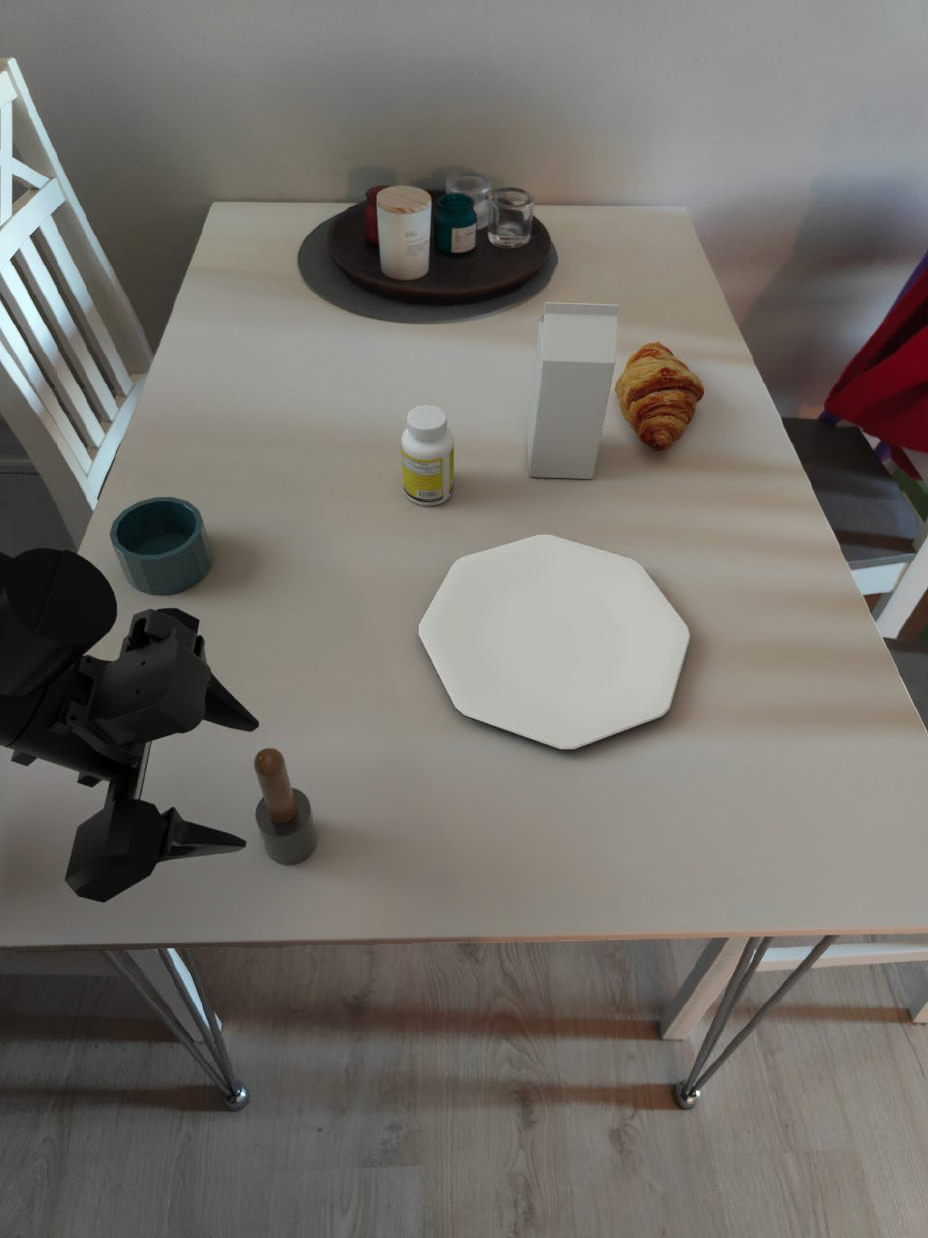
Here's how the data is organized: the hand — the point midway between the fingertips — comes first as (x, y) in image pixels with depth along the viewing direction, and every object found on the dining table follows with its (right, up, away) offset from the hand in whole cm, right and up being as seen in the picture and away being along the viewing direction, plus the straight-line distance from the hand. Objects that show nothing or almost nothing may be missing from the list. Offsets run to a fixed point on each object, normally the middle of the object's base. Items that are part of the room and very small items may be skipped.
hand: (249, 784), depth 59 cm
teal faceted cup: (-14, +17, +25) cm, 34 cm away
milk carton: (+26, +30, +38) cm, 54 cm away
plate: (+23, +9, +21) cm, 33 cm away
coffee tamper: (+1, -6, +7) cm, 9 cm away
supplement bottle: (+11, +25, +33) cm, 43 cm away
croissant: (+38, +37, +44) cm, 69 cm away
